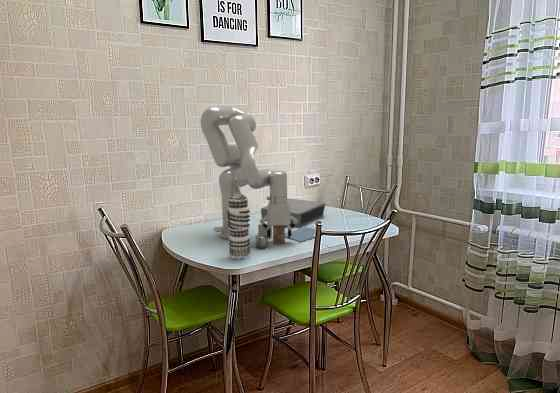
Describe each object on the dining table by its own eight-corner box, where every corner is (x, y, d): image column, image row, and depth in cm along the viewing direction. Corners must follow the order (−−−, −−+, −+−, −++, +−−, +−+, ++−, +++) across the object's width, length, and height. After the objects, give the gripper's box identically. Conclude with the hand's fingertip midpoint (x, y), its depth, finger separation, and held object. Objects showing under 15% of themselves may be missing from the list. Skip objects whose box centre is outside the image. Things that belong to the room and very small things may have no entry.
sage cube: (258, 237, 194) (258, 224, 192) (259, 233, 199) (259, 221, 198) (271, 237, 193) (271, 224, 192) (272, 233, 199) (272, 221, 198)
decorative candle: (251, 251, 174) (250, 192, 169) (251, 259, 165) (249, 197, 160) (229, 251, 174) (227, 193, 169) (227, 259, 165) (225, 197, 160)
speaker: (297, 230, 205) (325, 216, 229) (296, 214, 203) (325, 202, 228) (258, 223, 218) (289, 211, 242) (257, 208, 216) (289, 198, 240)
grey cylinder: (255, 249, 176) (255, 238, 175) (256, 245, 181) (256, 234, 180) (267, 249, 176) (267, 238, 175) (268, 245, 181) (268, 234, 180)
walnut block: (273, 244, 183) (272, 226, 181) (273, 240, 188) (273, 223, 186) (284, 244, 183) (284, 226, 181) (285, 240, 188) (284, 223, 186)
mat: (300, 242, 184) (300, 241, 184) (279, 235, 195) (279, 234, 194) (327, 234, 196) (327, 232, 196) (306, 228, 206) (306, 227, 206)
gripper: (257, 201, 178) (258, 240, 181) (298, 201, 177) (298, 240, 181) (259, 197, 185) (260, 235, 189) (298, 197, 184) (298, 235, 188)
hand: (279, 237), depth 185 cm, fingers open, 8 cm apart
